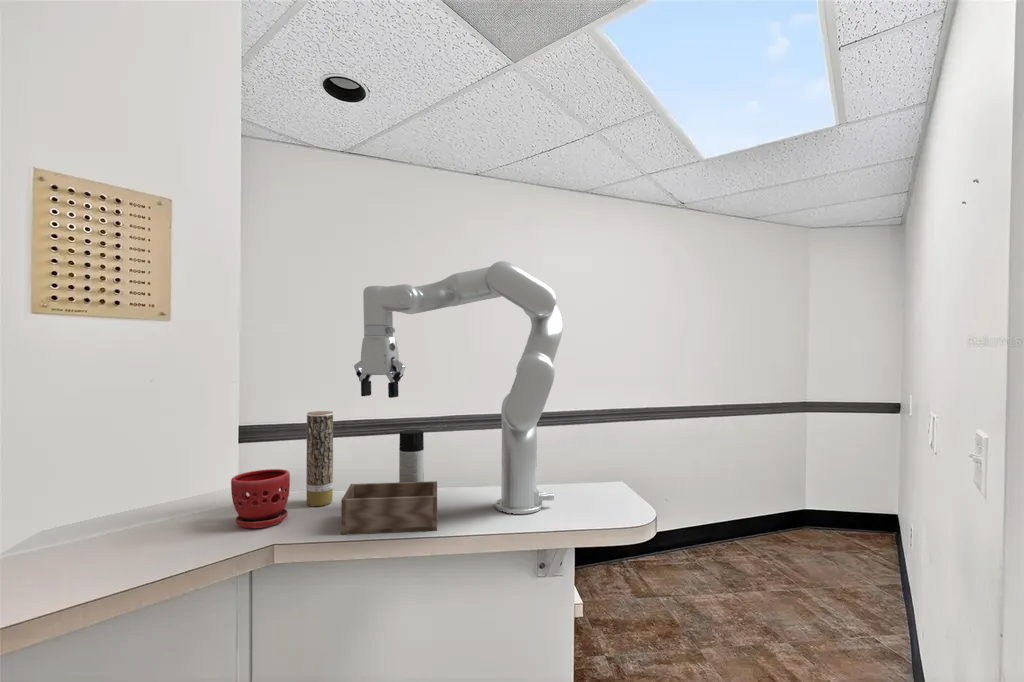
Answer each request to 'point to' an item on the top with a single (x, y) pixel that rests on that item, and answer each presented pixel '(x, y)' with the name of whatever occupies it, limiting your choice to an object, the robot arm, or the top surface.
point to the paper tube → (319, 458)
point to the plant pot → (260, 497)
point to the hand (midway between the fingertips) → (379, 396)
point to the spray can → (411, 456)
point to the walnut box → (389, 508)
